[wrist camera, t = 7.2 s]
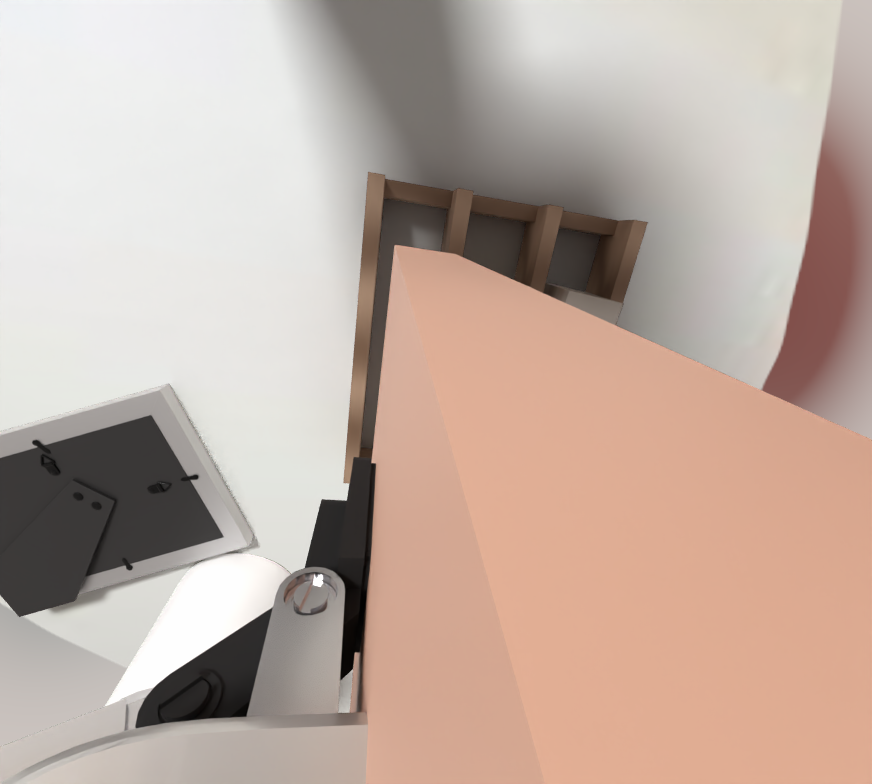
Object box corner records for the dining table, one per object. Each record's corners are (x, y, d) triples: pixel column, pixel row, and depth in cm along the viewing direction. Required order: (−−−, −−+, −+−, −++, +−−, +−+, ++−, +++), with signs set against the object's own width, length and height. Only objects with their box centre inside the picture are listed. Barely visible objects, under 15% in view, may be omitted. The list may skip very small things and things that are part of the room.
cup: (169, 552, 37) (76, 687, 26) (300, 551, 39) (264, 678, 28) (186, 641, 42) (112, 791, 30) (303, 638, 43) (273, 778, 32)
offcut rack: (371, 179, 28) (368, 172, 24) (616, 223, 31) (647, 222, 27) (348, 456, 36) (343, 482, 32) (546, 471, 38) (562, 497, 35)
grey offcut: (537, 280, 32) (569, 290, 26) (583, 291, 33) (623, 303, 27) (496, 416, 36) (515, 450, 30) (537, 423, 37) (564, 457, 31)
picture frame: (44, 590, 38) (256, 530, 38) (19, 617, 36) (246, 552, 36) (-78, 451, 32) (173, 380, 32) (-119, 470, 30) (154, 393, 30)
